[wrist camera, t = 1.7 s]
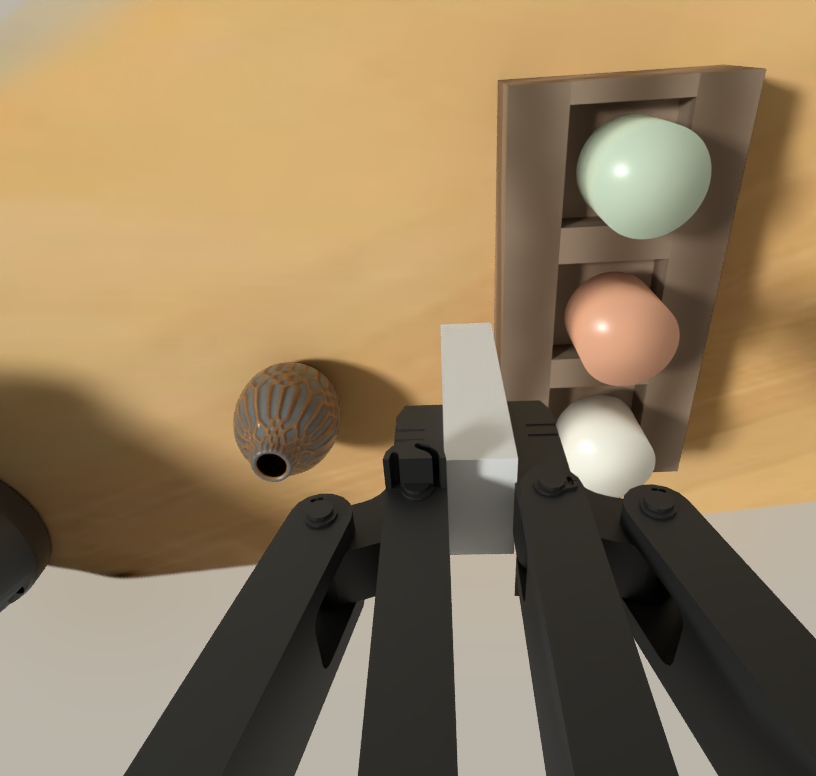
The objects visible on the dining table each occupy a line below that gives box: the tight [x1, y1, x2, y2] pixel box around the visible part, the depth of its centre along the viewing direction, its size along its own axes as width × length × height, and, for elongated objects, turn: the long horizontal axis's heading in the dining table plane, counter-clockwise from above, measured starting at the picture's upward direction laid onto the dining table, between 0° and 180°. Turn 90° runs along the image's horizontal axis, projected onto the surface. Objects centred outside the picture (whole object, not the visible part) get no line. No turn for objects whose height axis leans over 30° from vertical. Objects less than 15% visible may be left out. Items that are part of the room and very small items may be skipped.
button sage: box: [576, 113, 711, 239], centre depth 28 cm, size 5×5×4 cm
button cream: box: [556, 395, 655, 498], centre depth 36 cm, size 5×5×4 cm
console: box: [494, 65, 766, 472], centre depth 36 cm, size 12×24×4 cm, turn 4°
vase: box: [234, 362, 341, 482], centre depth 38 cm, size 7×7×9 cm
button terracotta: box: [564, 272, 680, 386], centre depth 32 cm, size 5×5×4 cm
